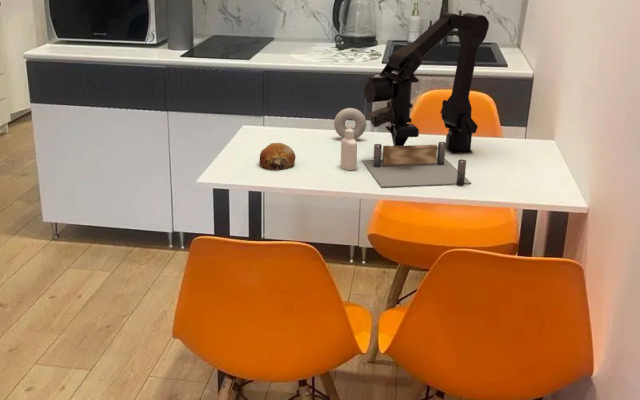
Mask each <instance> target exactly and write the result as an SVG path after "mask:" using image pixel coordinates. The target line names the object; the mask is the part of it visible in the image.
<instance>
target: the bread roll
mask: <svg viewBox="0 0 640 400" xmlns="http://www.w3.org/2000/svg"><path fill="white" fill-rule="evenodd" d="M296 159H297V158H296V154H295V152H294V150H293V149H292V147H291V146H288V145H287V144H285V143H282V142H271V143H270V144H268V145H267V146H266V147H264V149H261V152H260V154H259V165H260V166H261V167H262V168H264V169H265V170H266V169H267V170H271V171H272V170H273V171H274V170H275V171H278V170H279V171H280V170H286V169H290V168H292V167H293V166H295V163H296Z"/></svg>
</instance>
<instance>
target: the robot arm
mask: <svg viewBox="0 0 640 400" xmlns="http://www.w3.org/2000/svg"><path fill="white" fill-rule="evenodd" d="M489 27H490V22H489V19H488V18H487V17H486V15H483V14H477V13H473V12H472V13H471V12H466V13H464V14H462V15H458V14H456V13H452V12H444V13H443V14H441V15H440V17H439V18H438V19H437V20H436V21H435V22H434V23H433V24H431V25H430V27H428V28H427V29H426V30H425V31H424V32H422V34H421V35H420V36H419V37H417V38H416V39H415V40H414V41H413V42H411V43H410V44H407V45H405V46H402V47H401V48H398V49H397V50H395V51H394V52H392V53H391V54H390V55H389V56H388V61H387V63H386V64H385V66H384V67H383V69H382V71H381V72H380V74H379V76H373V75H371V76H369V77H368V81H366V83H365V86H364V87H363V93H364V94H363V95H364V98H365V100H366V101H367V102H368V103H371V104H372V103H379V102H386V106H384V107H380V108H378V109H374V110H373V111H369V112H368V114H367V115H368V118H369V120H370V124H371V126H373V128H378V127H380V126H381V125H384V124H387V123H388V126H387V125H386V126H385V129H386V130H388V132H389V133H390V134H391V135H390V136H391V138H392V146H405V144H406V142H407V140H408V139H409V138H418V137H420V135H419V134H420V128H419V127H417V126H416V125H415V124H414V123H412V119H413V118H411V109H412V108H413V106H414V105H413V103H412V102H411V101H412V99H411V98H412V84H414V83H418V82H420V80H419V79H418V78H417V77H416V76H415V72H416V71H417V70H418V68H419V67H420V66H421V65H422V62H423V59H424V57H425V56H426V55H428V53H429V52H430V51H431V50H433V48H435V47H436V46H437V45H438V44H439V43H441V42H442V40H444V39H445V38H446V37H447V36H448V35H449V34H450V33H451V32H453V31H454V30H455V29H457V37H458V40H459V44H460V45H459V46H460V47H459V53H458V58H457V63H456V69H455V72H454V73H455V74H454V80H453V86H452V89H451V90H452V91H451V94H450V96H449V97H448V98H447V99H443V100H442V107H441V110H440V112H439V113H440V114H441V120H442V121H443V123H444V127H445V128H446V129H448V132H447V133H448V134H446V136H445V143H446V147H445V150H446V151H448V152H449V153H451V154H472V153H473V150H472V149H471V146H472V139H473V138H472V137H473V135H472V134H476V133H477V130H478V128H479V127H478V124H477V123H476V122H475V121H474V119H473V118H472V105H471V102H470V98H469V97H470V92H471V87H472V82H473V81H472V80H473V77H474V71H475V67H476V66H475V65H476V61H477V56H478V49H479V47H480V46H481V44H482V43H483V42H484V40H485V39H486V37H487V33H488V30H489Z"/></svg>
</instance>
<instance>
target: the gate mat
mask: <svg viewBox="0 0 640 400" xmlns="http://www.w3.org/2000/svg"><path fill="white" fill-rule="evenodd" d="M382 160H383V158H381V167H373V162H374V159H362V160H361V162H362V163H363V165H364V166H365V168H366V169H367V170H368V171H369V173H370V174H371V176H372V177H373V179H374V180H375V181H376V183H377V184H378V185H379V187H380V188H381V189H385V188H386V189H387V188H388V189H389V188H409V187H410V188H411V187H413V188H415V187H436V186H438V187H439V186H458V185H457V183H456V182H457V171H458V168H456V167H455V166H454V165H453V164H452V163H451V162H450V161H448V159H446V158H445V159H444V165H438V164H437V158H436V163H417V164H389V165H383V163H382ZM464 185H472V182H471V181H470V180H469V179H468V178H467V177H466V176H465V181H464Z"/></svg>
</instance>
